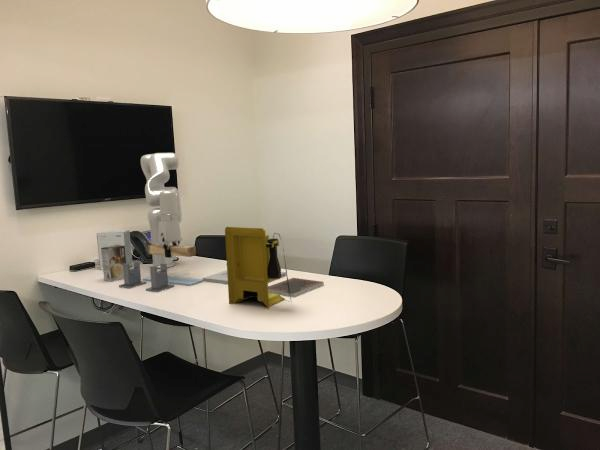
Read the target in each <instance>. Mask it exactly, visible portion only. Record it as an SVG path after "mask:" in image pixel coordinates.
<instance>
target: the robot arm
mask: <svg viewBox="0 0 600 450" xmlns="http://www.w3.org/2000/svg"><path fill="white" fill-rule="evenodd" d="M179 163H180V162H179V158H178V155H177V154H176V153H175V152H155V153H150V154H149V153H148V154H144V155H142V156H141V158H140V166H141V170H142V172H143V175H144V176H145V179H146V184H145V187H144V194H145V200H146V202H147V205H148V206H149V207H155V208H151V209H149V210H148V212H147V220H148V224H149V230H150V240H151V241H150V242H151V245H153V244H156V245H161V246H162V247H163V249H165V255H156V254H151V255H152V263H151V264H150V266H149V268H150V267H151V266H155V267H157V269H160V264H167V269H168V268H171V267H174V266H175V262H174V261H177V260H178V256H171V250H170V249H169V248H170V245H171V244H172V245H173V246H180V243H181V242H182V241H183V238H182V237H181V227H180V224H181V223H182V219H183V217H182V216H183V215H182V206H181V197H180V192H179V189H178V188H176V186H165V184H166V183H167V182H169V180H170V176H171V175H170V170H177V169H179V165H180V164H179Z"/></svg>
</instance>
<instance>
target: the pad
mask: <svg viewBox="0 0 600 450" xmlns="http://www.w3.org/2000/svg"><path fill="white" fill-rule="evenodd" d="M167 275H168V284H170V285H178V286H179V285H180V286H189V287H191V285H192V286H194V284H195V285H198V284H201V283H203V281H204V280H203V278H198V277H197V278H196V277H186V276H178V275H171V274H170V275H169V274H167ZM145 280H146V281H145ZM142 281H145V282H151V275H150V276H147V277H143V278H142Z"/></svg>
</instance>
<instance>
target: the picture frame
mask: <svg viewBox="0 0 600 450" xmlns="http://www.w3.org/2000/svg"><path fill="white" fill-rule="evenodd" d="M288 284H289V290H290V294H289V290H288ZM323 286H324V281H320V280H313V279H307V278H306V279H305V278H298V277H292V278H288V283H287V279H285V280H283V281H280V282H277V283H273V284H271V285H268V293H272V294H279V295H280V296H282V297H283V296H284V297H289V298H290V296H291V298H295V297H299V296H300V295H303V294H306V293H307V292H310V291H312V290H317V289H318V288H321V287H323Z"/></svg>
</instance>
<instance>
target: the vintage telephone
mask: <svg viewBox="0 0 600 450" xmlns="http://www.w3.org/2000/svg"><path fill="white" fill-rule="evenodd" d="M275 234H276V235H278V236H279V238H280V239H282V237H281V235H280V233H277V232H274V234H273V236H272V238H270V236H269V234H267V233H266V229H265V228H263V227H246V226H245V227H241V226H226V227H225V228H224V237H225V254H226V256H225V257H226V270H227V275H228V284H227V286H228V287H227V289H228V290H227V292H228V305H231V304H232V305H233V304H235V305H236V304H238V303H240V302H243V301H245V300H246V299H249V298H252V297H253V298H257V301H258V302H262V303H263V304H264V305H265V306H266V309H267V310H270V307H272V306H274V305H276V304H279V303H280V302H282V301H285V302H286V301H287V302H290V303H291V300H292V297H291V296H290V297H289V299H290V301H289V300H287V299H286V298H285V297H283V296H282V295H279V294H272V293H268V286H269V283H271V282H272V281H271V280H274V281H276V280H280V279H281V278H282V277H281V272H282V269H281V268H282V267H281V265H280V261H279V258H278V247H279V246H280V241H279V239H278V238H274V237H275ZM281 242H282V244H283V241H281ZM284 250H285V249H284V248H283V252H285V251H284ZM283 258H284V260H286V257H285V255H283ZM286 265H287V263H286V262H284V267H285V268H287V266H286ZM285 272H286V280H287V283H288V279H289V277H288V271H287V269H285ZM288 290H289V284H288ZM289 294H290V290H289Z"/></svg>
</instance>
